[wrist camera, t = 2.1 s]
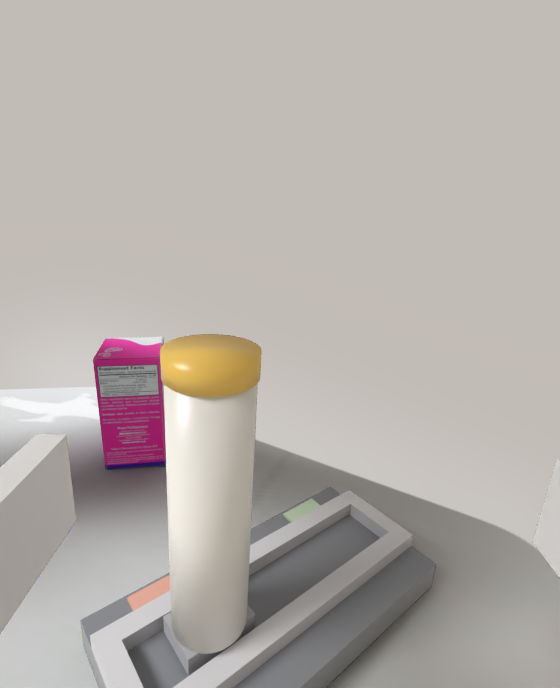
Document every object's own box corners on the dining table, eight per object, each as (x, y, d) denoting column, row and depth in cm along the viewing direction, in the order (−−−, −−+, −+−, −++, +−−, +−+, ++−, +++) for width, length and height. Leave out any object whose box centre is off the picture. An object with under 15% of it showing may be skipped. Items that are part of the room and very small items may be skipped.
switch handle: (193, 689, 20) (190, 375, 15) (156, 622, 23) (143, 343, 18) (263, 637, 22) (281, 355, 17) (221, 583, 25) (226, 329, 20)
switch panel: (157, 847, 17) (155, 802, 16) (83, 646, 24) (78, 606, 23) (431, 586, 29) (438, 552, 28) (327, 506, 36) (331, 477, 35)
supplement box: (112, 438, 44) (105, 335, 41) (170, 435, 45) (167, 335, 42) (101, 471, 39) (91, 356, 35) (167, 467, 40) (164, 355, 36)
